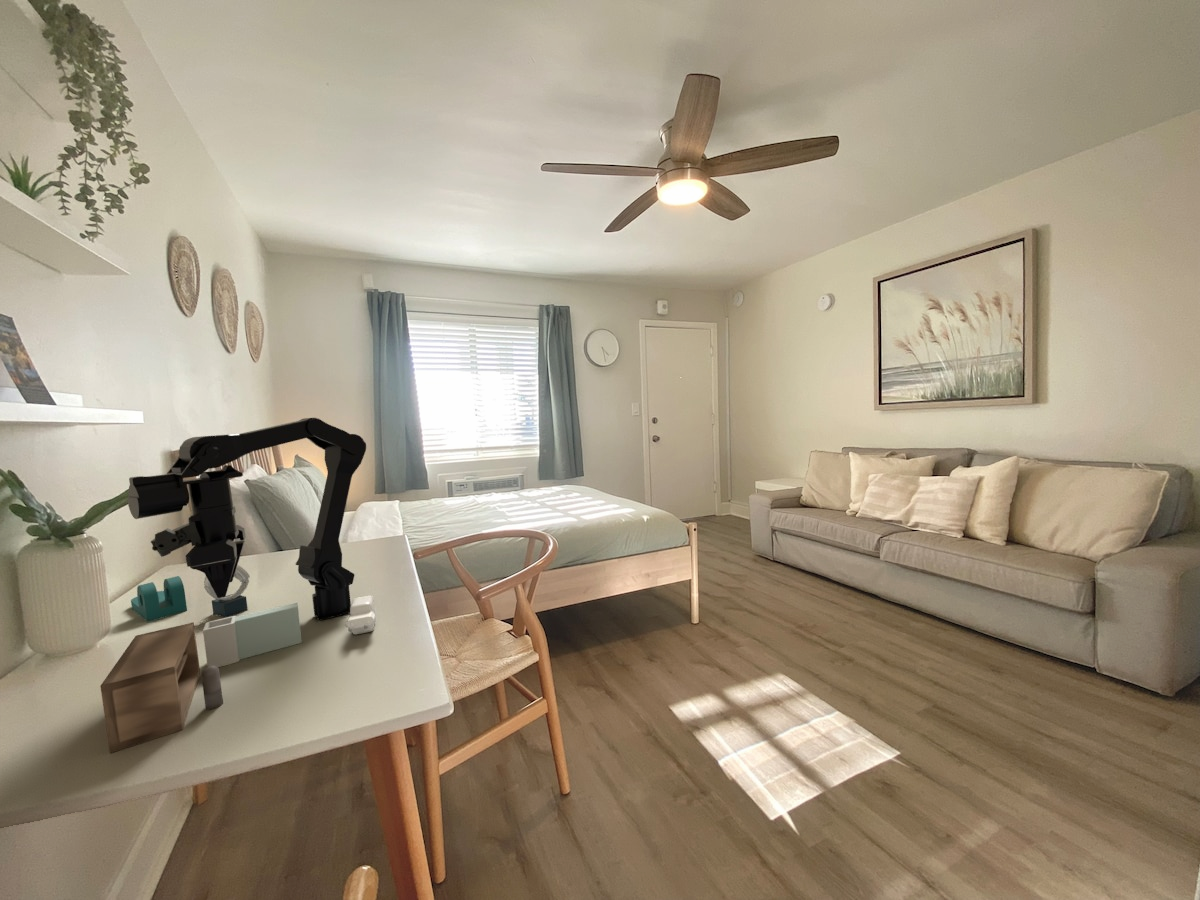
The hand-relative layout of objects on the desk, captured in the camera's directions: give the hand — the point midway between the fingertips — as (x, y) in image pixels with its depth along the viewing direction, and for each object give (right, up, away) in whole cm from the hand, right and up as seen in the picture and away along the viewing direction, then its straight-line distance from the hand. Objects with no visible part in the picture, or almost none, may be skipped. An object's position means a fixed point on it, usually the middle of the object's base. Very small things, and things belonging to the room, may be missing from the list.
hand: (225, 589), depth 85 cm
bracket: (-36, -13, +25) cm, 46 cm away
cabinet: (+5, -13, -15) cm, 20 cm away
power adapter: (+23, -10, +5) cm, 25 cm away
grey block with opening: (+6, -11, 0) cm, 13 cm away
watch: (-15, -11, +21) cm, 28 cm away
